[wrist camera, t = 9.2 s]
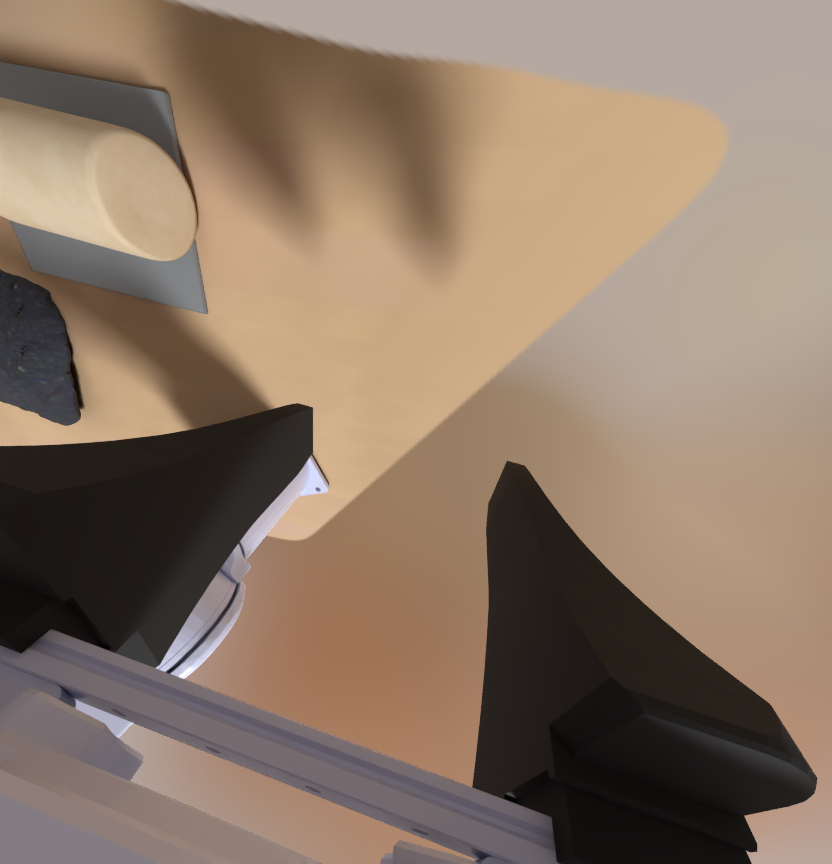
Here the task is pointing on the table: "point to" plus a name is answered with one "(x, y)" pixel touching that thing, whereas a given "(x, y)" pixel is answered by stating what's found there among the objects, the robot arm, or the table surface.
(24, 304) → the dark slate chunk
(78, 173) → the candle
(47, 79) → the slate mat
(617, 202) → the table surface
